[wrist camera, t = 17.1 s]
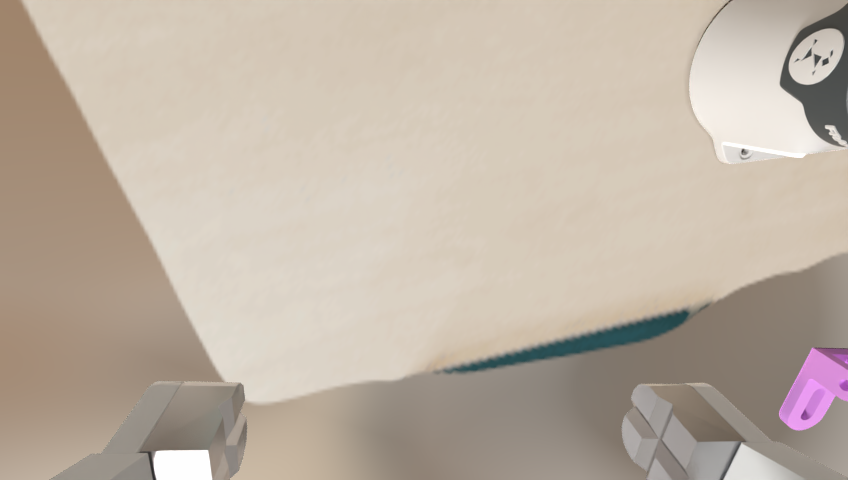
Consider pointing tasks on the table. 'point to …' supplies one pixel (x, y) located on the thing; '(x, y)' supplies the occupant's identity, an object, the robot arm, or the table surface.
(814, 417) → the bracket
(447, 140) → the table surface
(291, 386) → the table surface
